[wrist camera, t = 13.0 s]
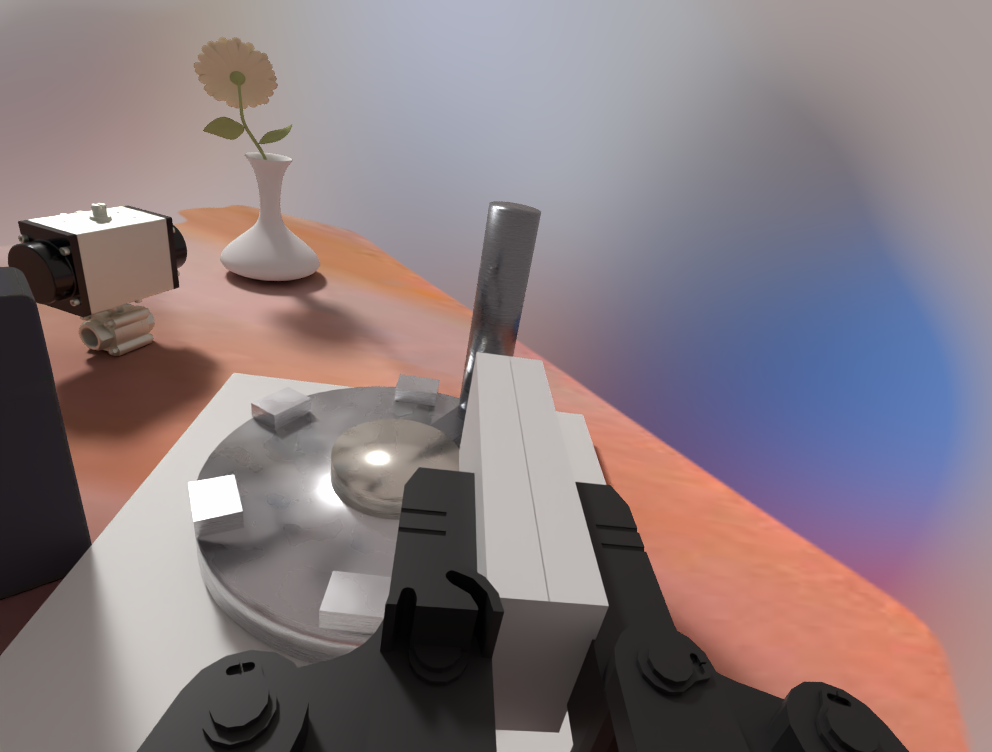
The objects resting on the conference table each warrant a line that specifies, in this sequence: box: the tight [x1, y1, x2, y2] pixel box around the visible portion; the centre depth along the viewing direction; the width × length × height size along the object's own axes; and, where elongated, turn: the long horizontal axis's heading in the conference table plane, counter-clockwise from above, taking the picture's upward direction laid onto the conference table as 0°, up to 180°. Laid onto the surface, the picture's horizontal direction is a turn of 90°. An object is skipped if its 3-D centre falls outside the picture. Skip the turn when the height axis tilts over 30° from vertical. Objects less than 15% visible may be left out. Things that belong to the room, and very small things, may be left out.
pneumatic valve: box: [8, 203, 187, 356], centre depth 45 cm, size 6×12×12 cm, turn 161°
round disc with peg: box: [188, 202, 541, 664], centre depth 28 cm, size 20×20×16 cm
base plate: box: [0, 373, 606, 752], centre depth 33 cm, size 28×28×2 cm
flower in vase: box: [194, 37, 320, 281], centre depth 63 cm, size 13×11×25 cm
